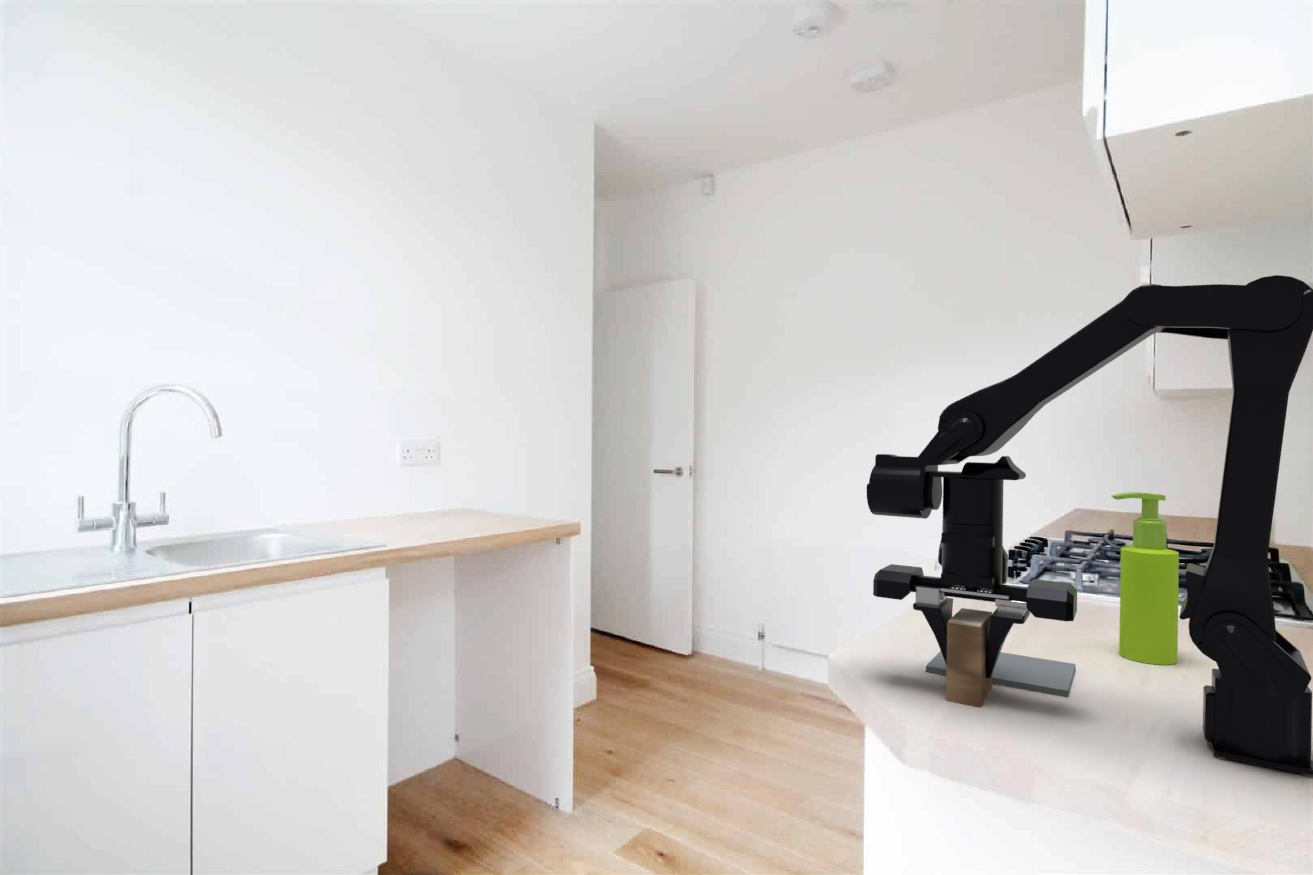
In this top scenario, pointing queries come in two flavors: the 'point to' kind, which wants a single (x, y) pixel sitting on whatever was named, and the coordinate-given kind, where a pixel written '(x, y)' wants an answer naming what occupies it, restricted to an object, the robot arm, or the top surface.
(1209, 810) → the top surface
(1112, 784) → the top surface
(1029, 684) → the mat
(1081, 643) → the top surface
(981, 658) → the walnut slab
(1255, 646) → the robot arm
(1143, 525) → the soap dispenser
